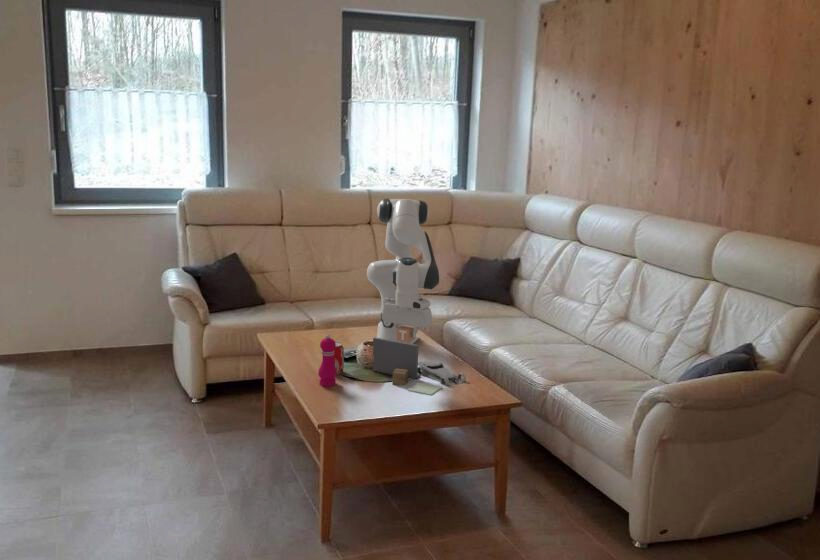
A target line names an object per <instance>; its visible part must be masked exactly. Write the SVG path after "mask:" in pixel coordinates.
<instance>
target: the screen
mask: <svg viewBox="0 0 820 560" xmlns="http://www.w3.org/2000/svg"><path fill="white" fill-rule="evenodd" d="M376 337H377V336H375V337H373V338H372V339H373V340H372V356H373V355H374V363H373V362H372V369H371V370H373V372H375V371H377V373H380V372H381V373H382V374H385V373H386V375H390V376H393V372H394V370H395V369H405V370H408V379H411V380H414V381H415V380H418V379H420V377H421V376H422V375H420V374H418V367H419V365H418V362H419V346H420V345H419V344H414V343H413V344H410V343H404V342H399V341H393V340H387V339H382V338H376Z"/></svg>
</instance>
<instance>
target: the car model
mask: <svg viewBox="0 0 820 560" xmlns="http://www.w3.org/2000/svg"><path fill="white" fill-rule="evenodd" d="M418 374H420V375H421V376H423V377H426V378H429V379H432V380H434V381H437V382H438V383H440V384H441V385H442V386H445V387H448V386H450V387H452V386H456V385H461V384H463V383H465V382H466V380H467V377H466V373H463V372H460V373H458V375H456V374H455V373H454V372H453V371H452V370H450V369H449V368H447V367H446V366H444V364H443V363H442V362H439V361H435V360H420V361H419V360H418Z"/></svg>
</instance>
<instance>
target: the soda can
mask: <svg viewBox="0 0 820 560" xmlns="http://www.w3.org/2000/svg"><path fill="white" fill-rule="evenodd" d="M335 343H336V346H335V349H334V355H333V362H334V365H335V367H336V370H337V375H340V374H342V373H343V372H344V369H345V368H344V367H345V365H344V364H345V363H344V362H345V360H344V359H345V354H344V353H345V350H344V349H345V347H344V346H343V343H342V342H338V341H335Z"/></svg>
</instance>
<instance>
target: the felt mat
mask: <svg viewBox="0 0 820 560" xmlns="http://www.w3.org/2000/svg"><path fill="white" fill-rule="evenodd" d="M441 389H443V386H441V385H436V384H431V383H426V382H421V381H418V382H417V383H416V384H414V385H412V386H411V387H409V388H408V389H407V391H408V392H413V393H418V394H423V395H426V396H433V395H434V394H435V393H437V392H438V391H440V390H441Z"/></svg>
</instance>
